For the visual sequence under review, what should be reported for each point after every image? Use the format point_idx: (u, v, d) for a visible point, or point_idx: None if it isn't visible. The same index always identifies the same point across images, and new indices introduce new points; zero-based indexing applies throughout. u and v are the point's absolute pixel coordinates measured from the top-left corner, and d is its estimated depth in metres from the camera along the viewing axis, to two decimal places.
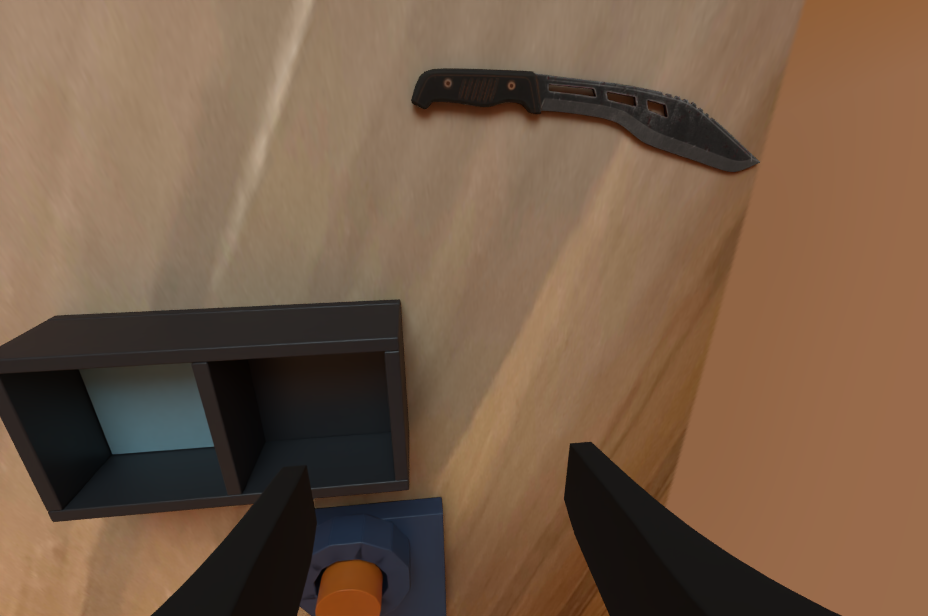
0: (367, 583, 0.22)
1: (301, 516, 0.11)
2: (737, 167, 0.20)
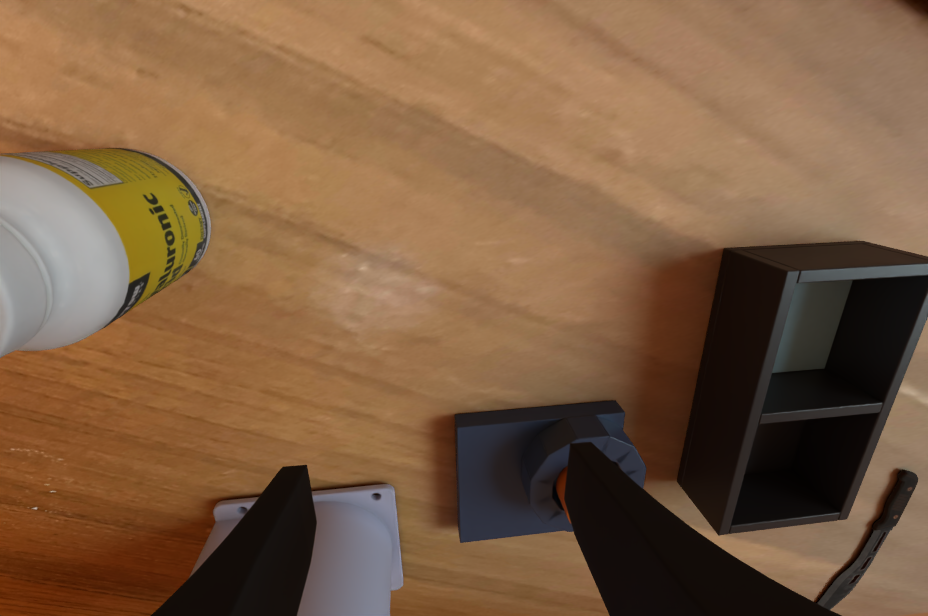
0: None
1: (301, 516, 0.11)
2: None
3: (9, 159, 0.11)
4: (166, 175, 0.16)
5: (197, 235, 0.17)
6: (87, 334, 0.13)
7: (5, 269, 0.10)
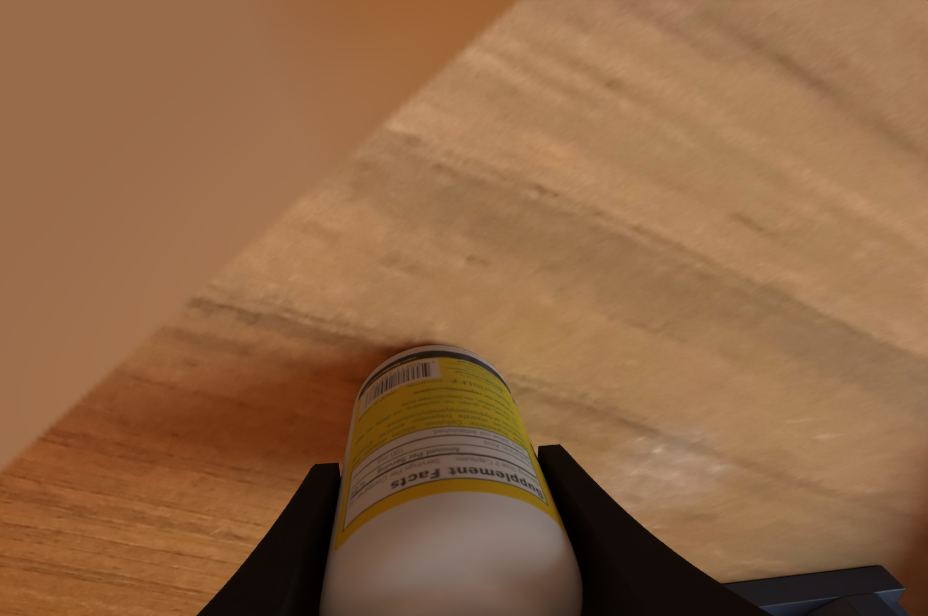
0: None
1: None
2: None
3: (492, 502, 0.08)
4: (504, 390, 0.13)
5: None
6: None
7: None
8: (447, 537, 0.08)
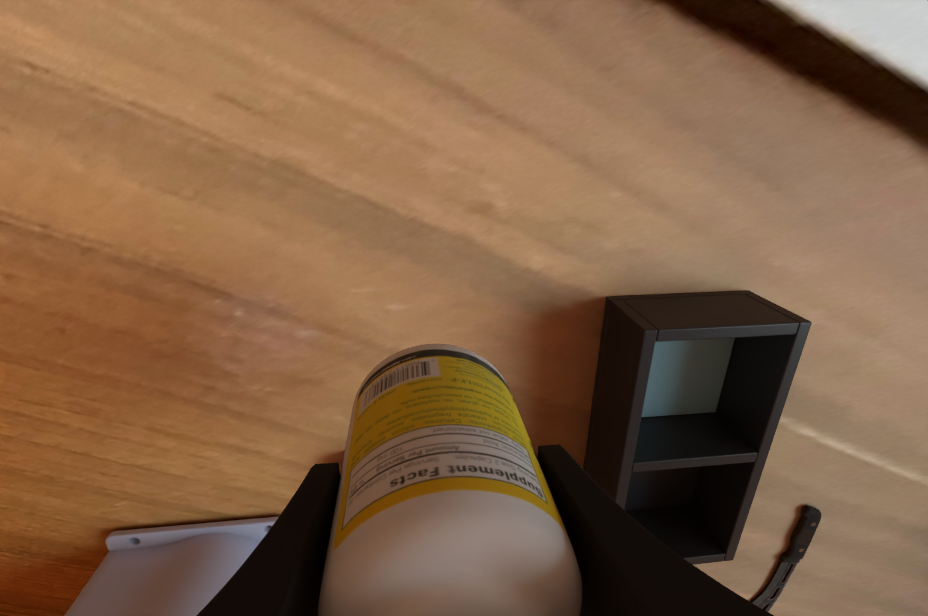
0: None
1: None
2: None
3: (491, 500, 0.08)
4: (503, 389, 0.13)
5: None
6: None
7: None
8: (446, 536, 0.08)
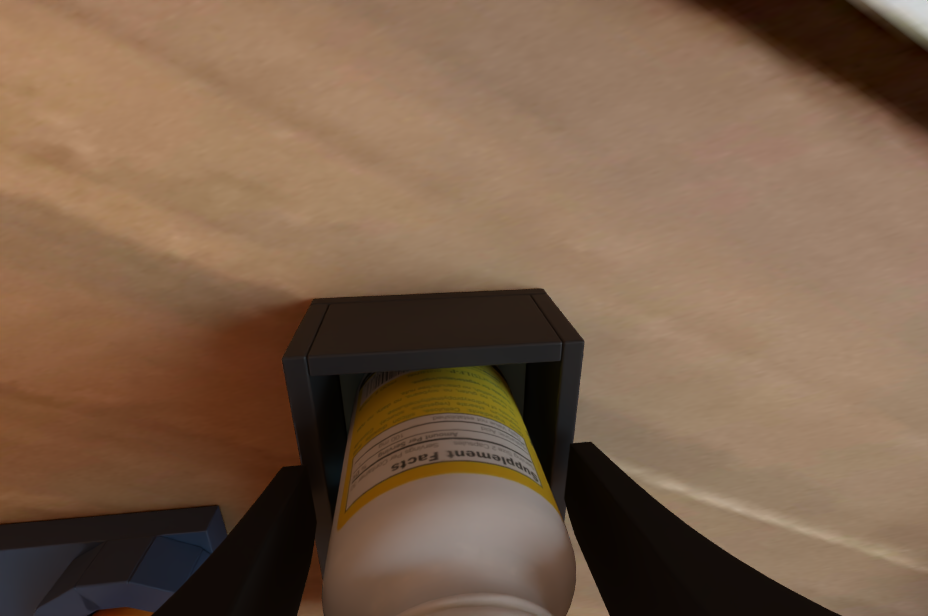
0: None
1: (301, 516, 0.11)
2: None
3: (488, 483, 0.09)
4: (501, 381, 0.14)
5: None
6: None
7: None
8: (445, 515, 0.08)
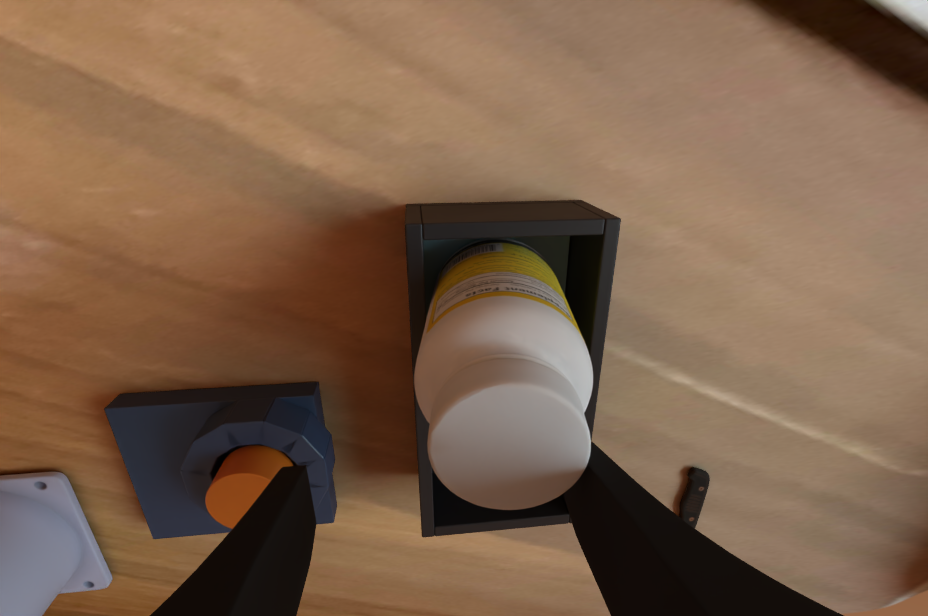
0: None
1: (300, 516, 0.11)
2: None
3: (532, 303, 0.12)
4: (551, 271, 0.17)
5: None
6: None
7: (589, 433, 0.11)
8: (501, 314, 0.12)
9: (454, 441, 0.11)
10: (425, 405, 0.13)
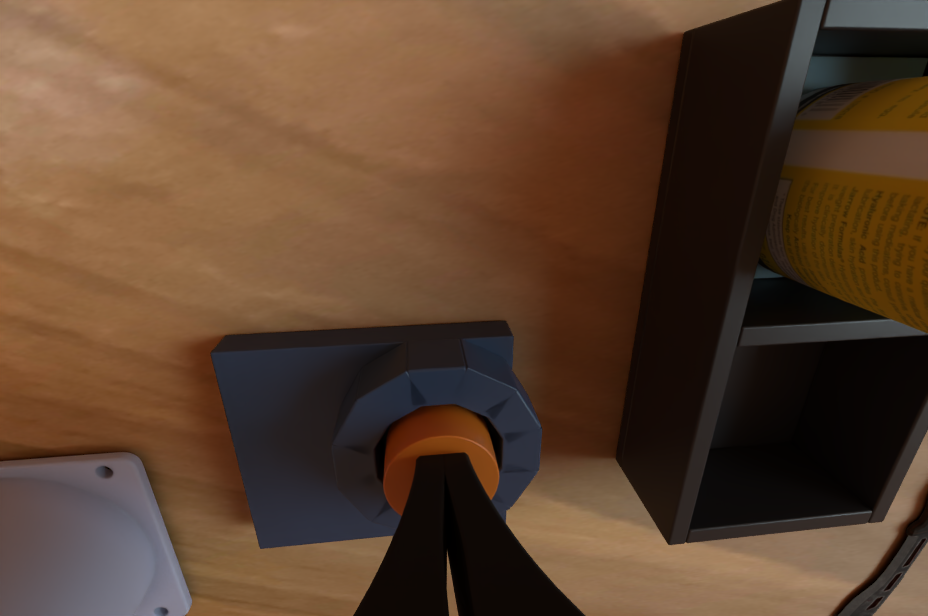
0: None
1: (445, 503, 0.11)
2: None
3: None
4: None
5: None
6: None
7: None
8: None
9: None
10: None
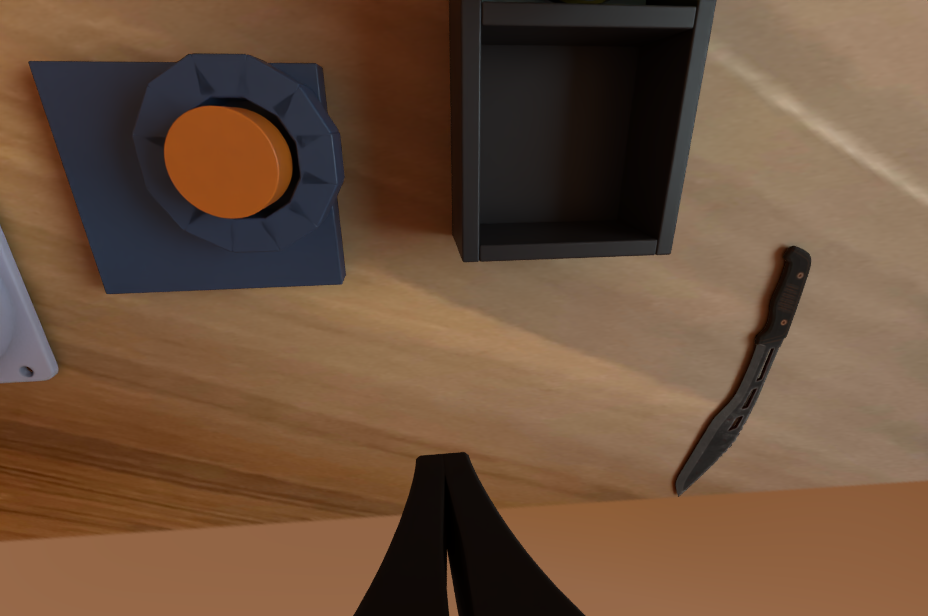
0: (275, 196, 0.14)
1: (445, 503, 0.11)
2: (678, 483, 0.26)
3: None
4: None
5: None
6: None
7: None
8: None
9: None
10: None
